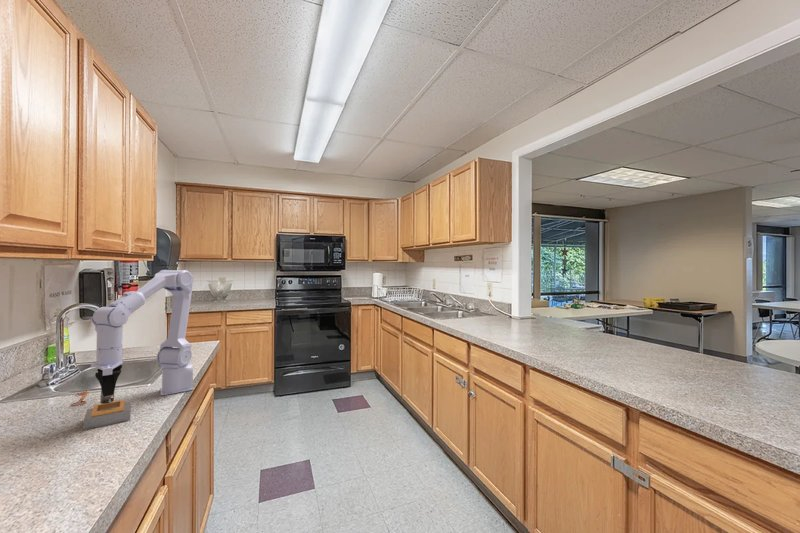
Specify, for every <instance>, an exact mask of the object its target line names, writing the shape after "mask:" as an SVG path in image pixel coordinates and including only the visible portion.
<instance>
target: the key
mask: <svg viewBox="0 0 800 533" xmlns="http://www.w3.org/2000/svg"><path fill="white" fill-rule="evenodd" d="M87 391H89V392H90V389H87V390H86V392H85V391H81V392H77V394H75V395H74V396H73V397H81V398H80V399H79V400H78V401H77V402H74V403H72V404H70V406H69V407H79V405H80V406H83V405H85V404H87V401H86V400H84V399H85V398H86V396H88V394H89V392H87ZM82 402H83V403H82Z"/></svg>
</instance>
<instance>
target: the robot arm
mask: <svg viewBox="0 0 800 533" xmlns="http://www.w3.org/2000/svg"><path fill="white" fill-rule="evenodd" d="M193 283H194V276H193V274H191V272H190V271H189V270H187V269H183V270H180V269H179V270H176V269H175V270H174V269H172V270H171V269H170V270H169V269H162V270H160V271H158V272H157V273H155V274H154V277H153V278H152V279H150V280H149V281H148V282H147V283H145V284H144V285H142V286H141V287H139V288H138V289H137V290H136V291H132V290H129V291H125V292H123V293H122V295H121V296H120V297H119V298H117V299H116V300H114V301H111V302H109V304H108V305H107V306H102V307H99V308H98V309H96V310H95V311H94V312H93V314H92V316H91V317H90V321H91V323H92V325H93V326H94V330H95V331H96V358H95V359H96V360H95V361H96V362H95V363H91V364H90V368H96V369H97V370H96V371H97V372H96V373H95V374H94V376H95V378H96V380H97V381H98V383H99V384H100V389H102V393H103V396H110V395H113V394H114V395H115V391H116V386H117V381H118V378H119V376H120V375H121V374H122V368H123V363H124V361H123V331H124V329H123V325H125V324H126V323H127V321H128V320H129V317H130V316H131V315H132V314H134V313H135V312H136V311H137V310H138V309H140V308H141V307H143V306H144V304H145V302H146V299H148V298H149V297H151V296H152V295H154V294H155V293H158V291H161V290H162V289H165V290H166V291H168V292H169V293H170V294H171V295H172V296H173V302H172V308H171V315H170V321H169V327H168V333H167V339H166V340H165V341H162V343H161V344H160V348H159V350H158V352H157V354H156V362H157V363H158V364H159V365H160V368H161V387H160V388H159V390H160V396H167V395H172V394H176V393H177V394H178V393H184V392H189V391H192V390H194V386H193V385H194V369H193V368H194V366H193V363H190V361H191V359H192V355H193V353H192V344H191V343H190V342H189V341H188V340H186V339H187V338H186V335H187V328H188V324H189V314H190V307H191V301H192V294H193V292H192V291H193ZM114 390H115V391H114Z"/></svg>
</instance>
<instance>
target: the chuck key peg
mask: <svg viewBox="0 0 800 533" xmlns="http://www.w3.org/2000/svg"><path fill="white" fill-rule="evenodd" d="M100 389H101V388H100ZM114 392H116V389H115V390H114ZM114 401H115V393H114V394H113V395H110V396H103V393H102V389H101V390H100V402H99V404H106V403H111V402H114Z"/></svg>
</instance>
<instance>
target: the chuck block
mask: <svg viewBox="0 0 800 533" xmlns="http://www.w3.org/2000/svg"><path fill="white" fill-rule="evenodd" d="M131 412H132V401H131V400H129V401H126V400H125V399H120V400H114V401H113V402H111V403H106V404H102V403H99V404H94V405H93V407H92V408H88V409H86V412H85V414H84V417H83V431H86V430H90V429H94V428H99V427H103V426H109V425H113V424H117V423H118V424H119V423H123V422H127V421H131V414H132V413H131Z"/></svg>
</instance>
